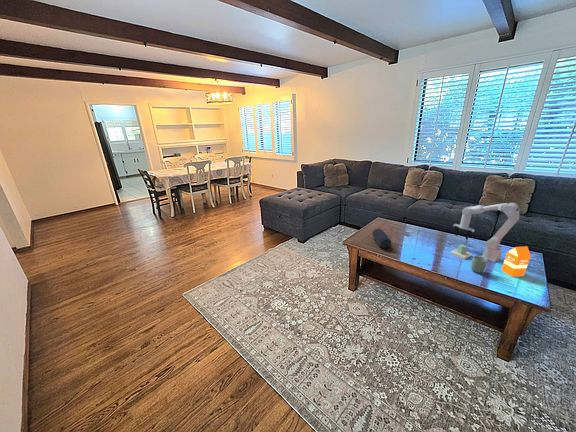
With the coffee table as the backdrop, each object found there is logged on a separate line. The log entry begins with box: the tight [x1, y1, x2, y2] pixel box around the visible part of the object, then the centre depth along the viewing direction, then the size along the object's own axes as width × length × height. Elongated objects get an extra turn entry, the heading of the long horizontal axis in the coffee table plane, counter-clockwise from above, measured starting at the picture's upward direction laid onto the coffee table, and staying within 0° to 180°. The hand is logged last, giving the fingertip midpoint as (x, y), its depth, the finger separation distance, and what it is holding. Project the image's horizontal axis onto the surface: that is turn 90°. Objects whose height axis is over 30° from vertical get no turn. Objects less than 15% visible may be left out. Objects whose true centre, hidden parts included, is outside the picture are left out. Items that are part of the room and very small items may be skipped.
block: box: [456, 244, 468, 254], centre depth 184 cm, size 4×4×6 cm
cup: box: [470, 255, 489, 274], centre depth 162 cm, size 8×8×10 cm
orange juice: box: [501, 246, 531, 277], centre depth 158 cm, size 8×9×20 cm
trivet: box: [450, 248, 473, 260], centre depth 185 cm, size 10×10×3 cm
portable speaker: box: [372, 228, 392, 249], centre depth 206 cm, size 25×10×10 cm, turn 177°
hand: (461, 237), depth 193 cm, fingers open, 7 cm apart
